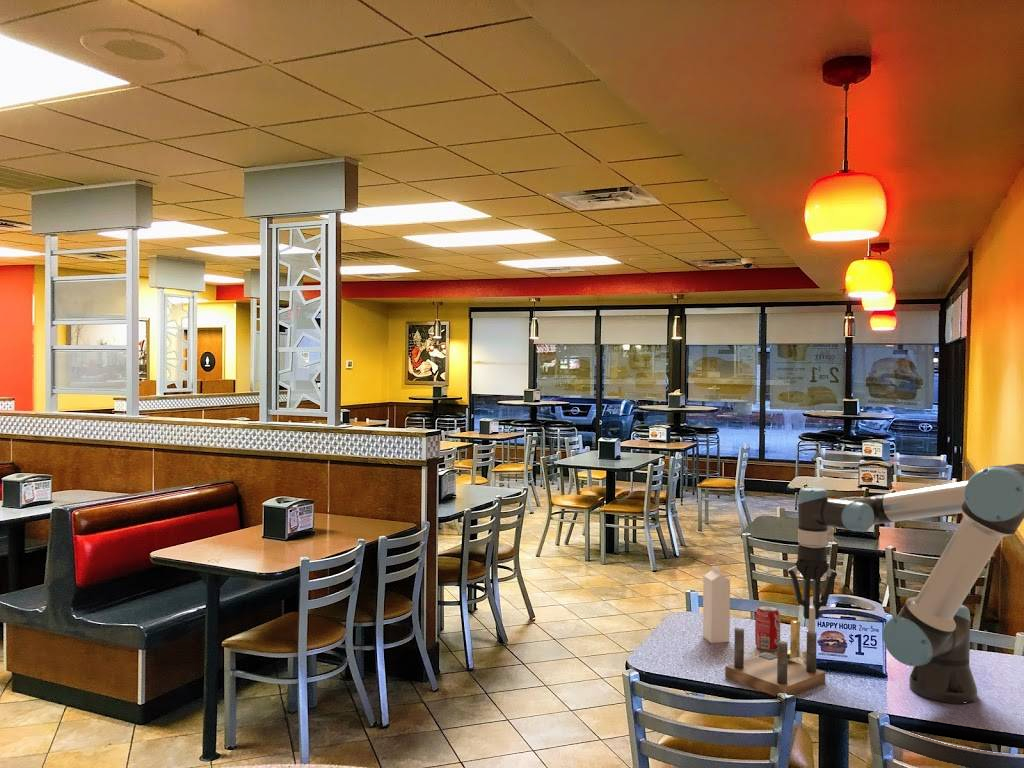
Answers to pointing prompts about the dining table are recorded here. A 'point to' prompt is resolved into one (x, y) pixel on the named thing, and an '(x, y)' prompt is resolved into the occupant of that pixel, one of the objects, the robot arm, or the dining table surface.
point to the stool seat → (775, 668)
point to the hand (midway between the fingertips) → (810, 630)
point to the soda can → (767, 627)
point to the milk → (716, 606)
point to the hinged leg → (794, 640)
